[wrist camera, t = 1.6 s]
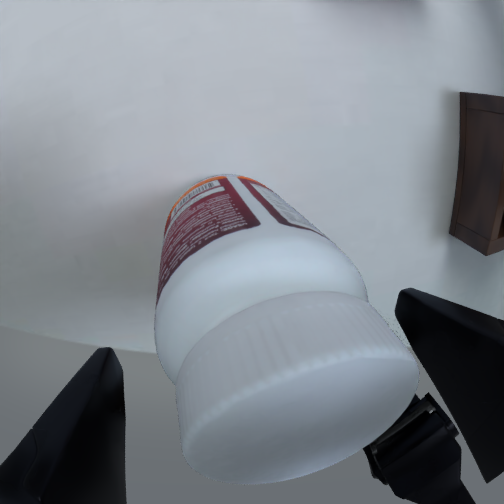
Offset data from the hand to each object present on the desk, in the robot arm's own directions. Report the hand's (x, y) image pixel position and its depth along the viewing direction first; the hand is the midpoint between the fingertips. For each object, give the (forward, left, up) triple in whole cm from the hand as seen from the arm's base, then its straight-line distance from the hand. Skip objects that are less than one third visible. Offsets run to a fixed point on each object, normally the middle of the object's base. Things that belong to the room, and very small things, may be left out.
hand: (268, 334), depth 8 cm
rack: (+3, -27, -8) cm, 28 cm away
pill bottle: (0, 0, -8) cm, 8 cm away
